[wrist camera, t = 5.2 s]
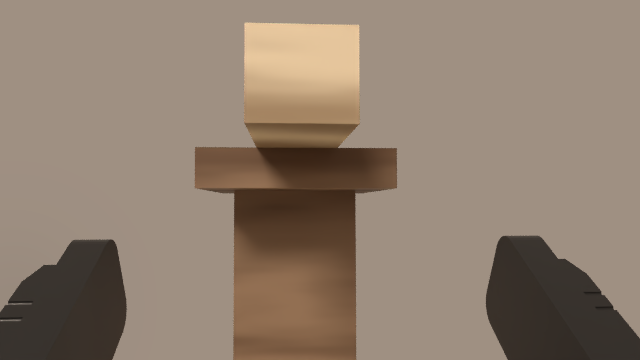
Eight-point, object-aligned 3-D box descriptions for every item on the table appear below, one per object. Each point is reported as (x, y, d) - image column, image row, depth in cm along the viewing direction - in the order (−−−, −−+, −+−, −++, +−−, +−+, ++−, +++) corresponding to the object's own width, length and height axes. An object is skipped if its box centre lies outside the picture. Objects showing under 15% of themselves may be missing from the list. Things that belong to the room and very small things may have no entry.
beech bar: (359, 123, 19) (359, 25, 19) (244, 123, 18) (244, 22, 18) (321, 164, 38) (321, 115, 38) (265, 164, 37) (265, 114, 37)
